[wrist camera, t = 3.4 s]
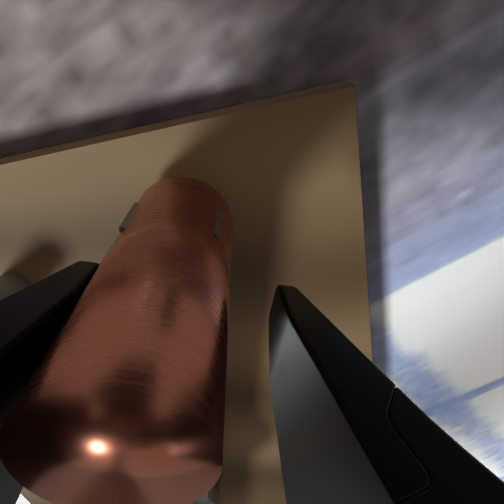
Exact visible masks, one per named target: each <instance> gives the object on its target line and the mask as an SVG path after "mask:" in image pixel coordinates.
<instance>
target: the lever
mask: <svg viewBox="0 0 504 504" xmlns="http://www.w3.org/2000/svg"><path fill="white" fill-rule="evenodd" d="M232 230H233V220H232V214H231V211H230V208H229V206H228V204H227V202H226V201H225V199H224V198H223V197H222V196H221V194H220V193H219V192H218V191H216V190H215V189H214V188H213V187H211V186H210V185H208V184H206V183H204V182H202V181H200V180H197V179H193V178H188V177H172V178H167V179H164V180H161V181H159V182H157V183H155V184H153V185H152V186H150V187H149V188H148V189H147V190H146V191H145V192H144V193H143V194H142V196H141V197H140V199H139V201H138V202H137V203H136V202H135V203H134V204H133V206H132V207H131V209H130V211H129V212H128V214H127V215H126V217H125V219H124V220H123V222H122V223H121V225H120V227H119V234H118V235H117V237H116V239H115V240H114V242H113V243H112V245H111V247H110V248H109V250H108V252H107V253H106V255H105V257H104V258H103V260H102V262H101V263H100V265H99V267H98V268H97V270H96V272H95V273H94V275H93V276H92V278H91V280H90V281H89V283H88V285H87V286H86V288H85V290H84V291H83V293H82V295H81V296H80V298H79V300H78V301H77V303H76V304H75V306H74V308H73V309H72V311H71V313H70V314H69V316H68V318H67V319H66V321H65V323H64V324H63V326H62V328H61V329H60V331H59V333H58V334H57V336H56V337H55V339H54V341H53V342H52V344H51V346H50V347H49V349H48V351H47V352H46V354H45V356H44V357H43V359H42V361H41V362H40V364H39V366H38V367H37V369H36V370H35V372H34V374H33V375H32V377H31V379H30V380H29V382H28V384H27V385H26V387H25V389H24V390H23V392H22V394H21V395H20V397H19V399H18V400H17V402H16V403H15V405H14V407H13V408H12V410H11V412H10V413H9V415H8V417H7V418H6V420H5V422H4V423H3V425H2V427H1V430H0V458H1V461H2V463H3V464H4V466H5V468H6V469H7V471H8V472H9V473H10V474H11V476H12V477H13V478H14V479H15V480H16V481H17V482H18V483H20V484H21V485H22V486H23V487H25V488H26V489H27V490H29V491H30V492H32V493H34V494H35V495H37V496H39V497H41V498H43V499H45V500H47V501H49V502H51V503H53V504H220V485H221V470H222V465H223V443H224V419H225V396H226V372H227V349H228V325H229V301H230V278H231V254H232Z"/></svg>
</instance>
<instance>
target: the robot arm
mask: <svg viewBox="0 0 504 504" xmlns="http://www.w3.org/2000/svg"><path fill="white" fill-rule="evenodd" d="M99 265H100V264H99V263H96V262H88V261H78V262H76V263H74V264H72V265H70V266H68V267H66V268H64V269H62V270H60V271H58V272H56V273H53V274H51V275H49V276H47V277H45V278H43V279H41V280H39V281H37V282H35V283H33V284H31V285H29V286H27V287H25V288H23V289H21V290H19V291H17V292H15V293H13V294H11V295H9V296H7V297H5V298H3V299H1V300H0V430H1V427H2V425H3V423H4V422H5V420H6V418H7V417H8V415H9V413H10V412H11V410H12V408H13V407H14V405H15V403H16V402H17V400H18V399H19V397H20V395H21V394H22V392H23V390H24V389H25V387H26V385H27V384H28V382H29V380H30V379H31V377H32V375H33V374H34V372H35V370H36V369H37V367H38V366H39V364H40V362H41V361H42V359H43V357H44V356H45V354H46V352H47V351H48V349H49V347H50V346H51V344H52V342H53V341H54V339H55V337H56V336H57V334H58V333H59V331H60V329H61V328H62V326H63V324H64V323H65V321H66V319H67V318H68V316H69V314H70V313H71V311H72V309H73V308H74V306H75V304H76V303H77V301H78V300H79V298H80V296H81V295H82V293H83V291H84V290H85V288H86V286H87V285H88V283H89V281H90V280H91V278H92V276H93V275H94V273H95V272H96V270H97V268H98V267H99ZM269 376H270V389H271V397H272V404H273V411H274V418H275V426H276V433H277V440H278V447H279V455H280V462H281V469H282V476H283V483H284V491H285V498H286V504H504V482H503V481H502V480H500V479H499V478H498V477H497V476H496V475H495V474H493V473H492V472H491V471H490V470H489V469H488V468H486V467H485V466H484V465H483V464H482V463H481V462H479V461H478V460H477V459H476V458H475V457H474V456H472V455H471V454H470V453H469V452H468V451H466V450H465V449H464V448H463V447H462V446H461V445H460V444H458V443H457V442H456V441H455V440H454V439H453V438H452V437H450V436H449V435H448V434H447V433H446V432H445V431H444V430H442V429H441V428H440V427H439V426H438V425H437V424H436V423H435V422H434V421H432V420H431V419H430V418H429V417H428V416H427V415H426V414H425V413H424V412H423V411H422V410H421V409H420V408H419V407H418V406H417V405H416V404H414V403H413V402H412V401H411V400H410V399H409V398H408V397H407V396H406V395H405V394H404V393H403V392H402V391H401V390H400V389H399V388H395V384H394V383H393V382H392V381H391V380H390V379H389V378H388V377H387V376H386V375H385V374H384V373H383V372H382V371H381V370H380V369H379V368H378V367H377V366H376V365H375V364H374V363H373V362H372V361H371V360H370V359H369V358H367V357H366V356H365V355H364V354H363V353H362V352H361V351H360V350H359V349H358V348H357V347H356V346H355V345H354V344H353V343H352V342H351V341H350V340H349V339H348V338H347V337H346V336H345V335H344V334H343V333H342V332H341V331H340V330H339V329H338V328H337V327H336V326H335V325H334V324H333V323H332V322H331V321H330V320H329V319H328V318H327V317H326V316H325V315H324V314H323V313H322V312H321V311H320V310H319V309H318V308H317V307H316V306H315V305H314V304H313V303H312V302H311V301H310V300H309V299H308V298H307V297H306V296H304V295H303V294H302V293H301V292H300V291H299V290H298V289H297V288H296V287H294V286H288V285H278V286H277V288H276V290H275V294H274V298H273V302H272V306H271V310H270V314H269ZM22 488H23V486H22V485H21V484H20V483H18V482H17V481H16V480H15V479H14V478H13V477H12V476H11V474H10V473H9V472H8V471H7V469H6V468H5V466H4V464H3V463H2V461H1V458H0V504H15V503H16V501H17V499H18V497H19V495H20V493H21V491H22Z"/></svg>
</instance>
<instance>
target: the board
mask: <svg viewBox="0 0 504 504" xmlns="http://www.w3.org/2000/svg"><path fill="white" fill-rule="evenodd" d="M172 177H188V178H193V179H197V180H200V181H202V182H204V183H206V184H208V185H210V186H211V187H213V188H214V189H215V190H216V191H218V192H219V193H220V194H221V196H222V197H223V198H224V199H225V201H226V202H227V204H228V206H229V208H230V211H231V214H232V220H233V230H232V254H231V278H230V301H229V325H228V349H227V372H226V396H225V419H224V443H223V465H222V470H221V485H220V504H286V498H285V491H284V483H283V476H282V469H281V462H280V455H279V447H278V440H277V433H276V426H275V418H274V411H273V404H272V397H271V389H270V376H269V314H270V310H271V306H272V302H273V298H274V294H275V290H276V288H277V286H278V285H288V286H294V287H296V288H297V289H298V290H299V291H300V292H301V293H302V294H303V295H304V296H306V297H307V298H308V299H309V300H310V301H311V302H312V303H313V304H314V305H315V306H316V307H317V308H318V309H319V310H320V311H321V312H322V313H323V314H324V315H325V316H326V317H327V318H328V319H329V320H330V321H331V322H332V323H333V324H334V325H335V326H336V327H337V328H338V329H339V330H340V331H341V332H342V333H343V334H344V335H345V336H346V337H347V338H348V339H349V340H350V341H351V342H352V343H353V344H354V345H355V346H356V347H357V348H358V349H359V350H360V351H361V352H362V353H363V354H364V355H365V356H366V357H367V358H369V359H370V360H371V361H372V346H371V330H370V315H369V299H368V284H367V268H366V252H365V237H364V221H363V205H362V190H361V174H360V158H359V143H358V127H357V111H356V96H355V86H354V85H352V84H350V83H348V82H346V81H340V82H336V83H331V84H327V85H322V86H318V87H313V88H309V89H304V90H300V91H296V92H291V93H287V94H282V95H278V96H273V97H269V98H265V99H260V100H256V101H251V102H247V103H242V104H238V105H234V106H229V107H225V108H220V109H216V110H211V111H207V112H202V113H198V114H194V115H189V116H185V117H180V118H176V119H171V120H167V121H163V122H158V123H154V124H149V125H145V126H140V127H136V128H132V129H127V130H123V131H118V132H114V133H109V134H105V135H100V136H96V137H92V138H87V139H83V140H78V141H74V142H69V143H65V144H61V145H56V146H52V147H47V148H43V149H38V150H34V151H29V152H25V153H21V154H16V155H12V156H7V157H3V158H0V300H1V299H3V298H5V297H7V296H9V295H11V294H13V293H15V292H17V291H19V290H21V289H23V288H25V287H27V286H29V285H31V284H33V283H35V282H37V281H39V280H41V279H43V278H45V277H47V276H49V275H51V274H53V273H56V272H58V271H60V270H62V269H64V268H66V267H68V266H70V265H72V264H74V263H76V262H78V261H88V262H96V263H99V264H100V263H101V262H102V260H103V258H104V257H105V255H106V253H107V252H108V250H109V248H110V247H111V245H112V243H113V242H114V240H115V239H116V237H117V235H118V234H119V227H120V225H121V223H122V222H123V220H124V219H125V217H126V215H127V214H128V212H129V211H130V209H131V207H132V206H133V204H134V203H135V202H136V203H137V202H138V201H139V199H140V197H141V196H142V194H143V193H144V192H145V191H146V190H147V189H148V188H149V187H150V186H152V185H153V184H155V183H157V182H159V181H161V180H164V179H167V178H172ZM21 494H22V495H23V496H24V497H25V498H26V499H27V500H28V501H29V502H30V503H31V504H53V503H51V502H49V501H47V500H45V499H43V498H41V497H39V496H37V495H35V494H34V493H32V492H30V491H29V490H27V489H26V488H25V487H23V488H22V491H21Z"/></svg>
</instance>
